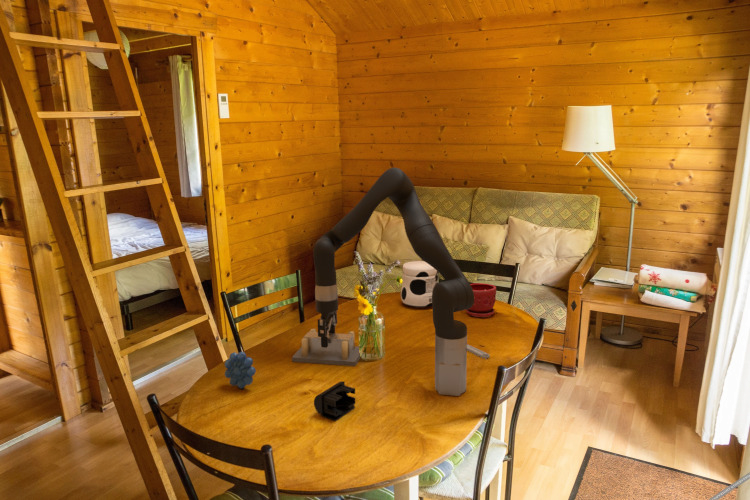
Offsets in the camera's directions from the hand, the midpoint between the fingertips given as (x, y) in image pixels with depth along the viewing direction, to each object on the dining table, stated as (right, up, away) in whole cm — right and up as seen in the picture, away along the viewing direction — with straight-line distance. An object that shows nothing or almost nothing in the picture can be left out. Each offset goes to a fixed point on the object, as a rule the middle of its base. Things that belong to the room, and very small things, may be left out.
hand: (328, 342), depth 189 cm
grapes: (-24, -10, -20) cm, 33 cm away
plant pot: (+59, +5, +41) cm, 72 cm away
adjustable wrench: (+47, -3, +7) cm, 47 cm away
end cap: (+5, -13, -36) cm, 39 cm away
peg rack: (0, -5, +1) cm, 5 cm away
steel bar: (0, -3, +1) cm, 4 cm away
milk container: (+36, +7, +55) cm, 66 cm away
